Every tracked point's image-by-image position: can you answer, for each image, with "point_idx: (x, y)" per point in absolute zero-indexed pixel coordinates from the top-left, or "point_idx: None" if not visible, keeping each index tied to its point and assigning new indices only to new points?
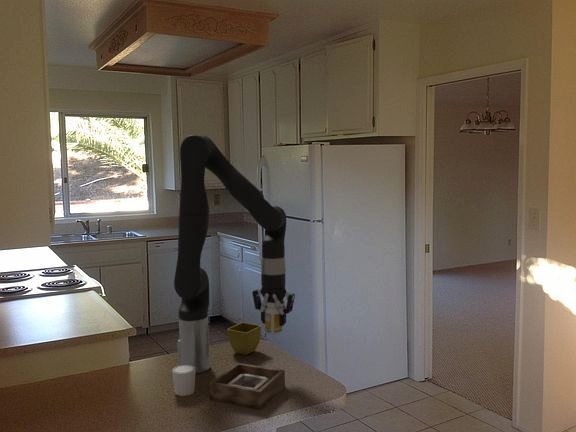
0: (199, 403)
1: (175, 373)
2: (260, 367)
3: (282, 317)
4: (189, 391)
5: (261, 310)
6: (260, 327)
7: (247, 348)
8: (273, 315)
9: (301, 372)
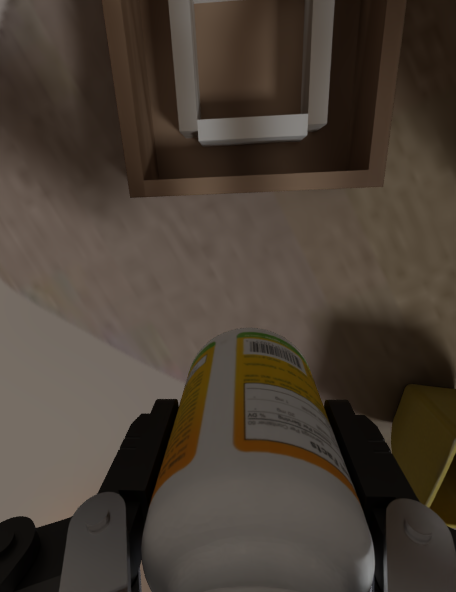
0: None
1: None
2: (249, 181)
3: (130, 469)
4: None
5: (420, 520)
6: None
7: (414, 394)
8: (201, 449)
9: (163, 326)
